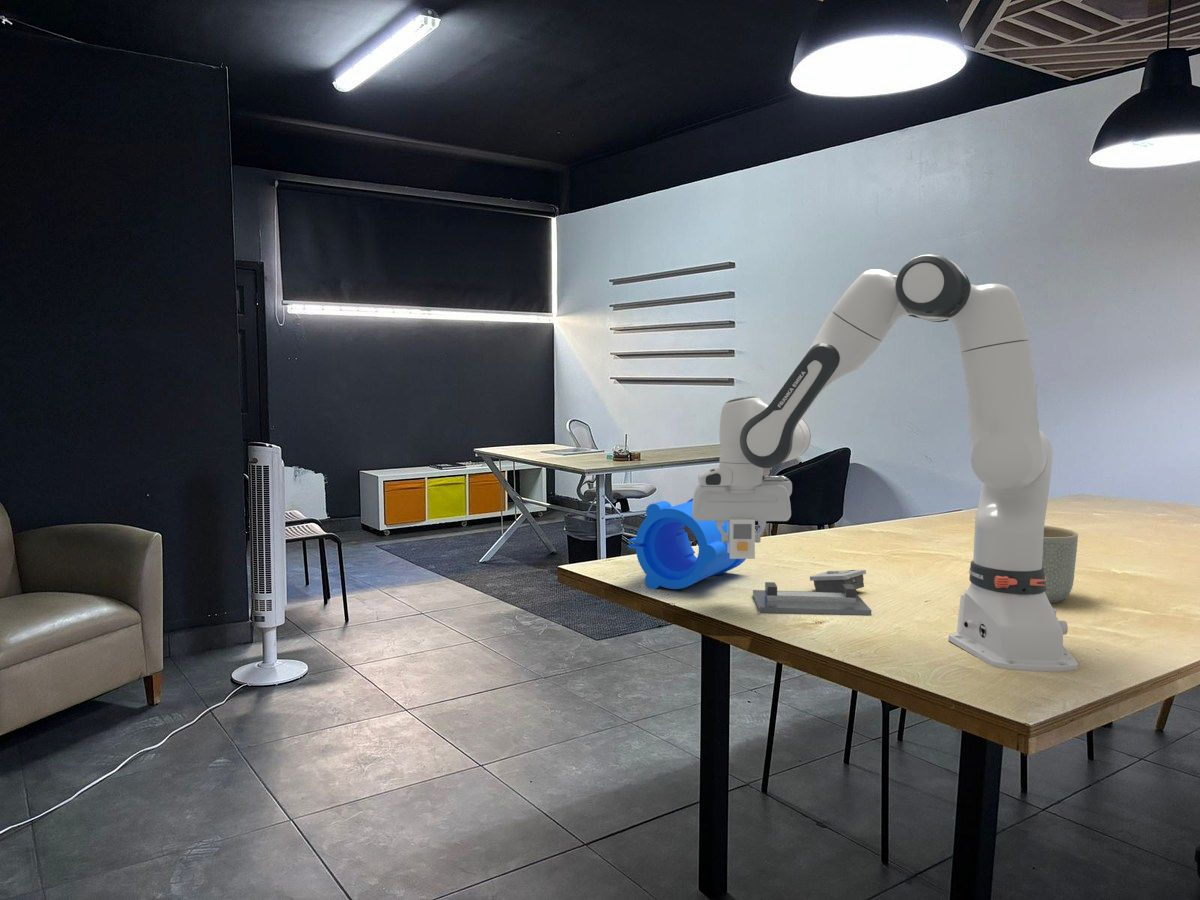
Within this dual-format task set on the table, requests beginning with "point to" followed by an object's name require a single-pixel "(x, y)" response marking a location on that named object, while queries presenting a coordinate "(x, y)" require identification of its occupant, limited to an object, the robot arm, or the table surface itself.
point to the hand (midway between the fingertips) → (740, 542)
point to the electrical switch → (837, 580)
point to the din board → (810, 601)
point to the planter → (1059, 561)
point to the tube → (679, 547)
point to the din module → (741, 538)
